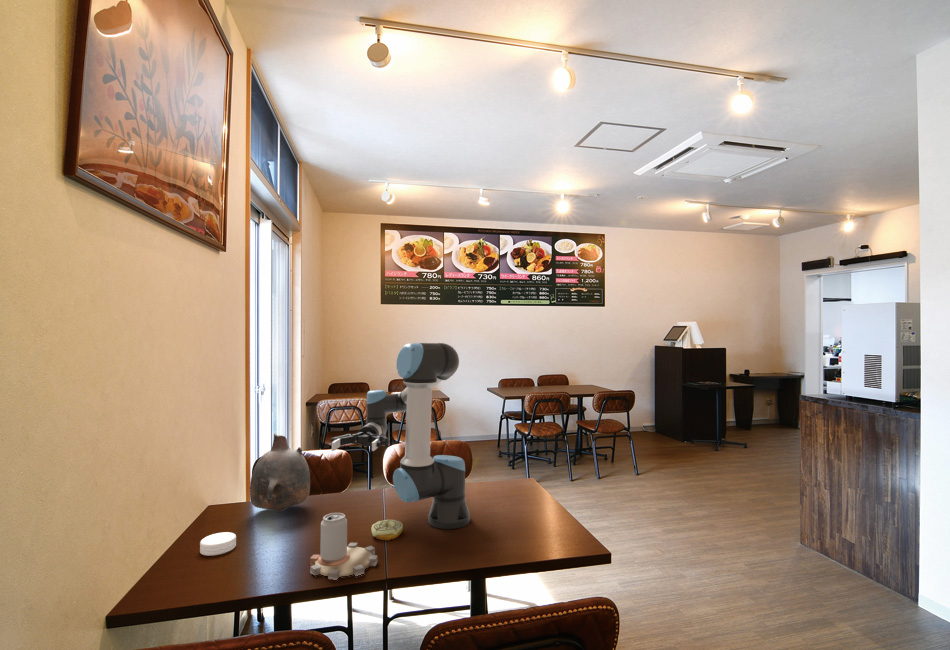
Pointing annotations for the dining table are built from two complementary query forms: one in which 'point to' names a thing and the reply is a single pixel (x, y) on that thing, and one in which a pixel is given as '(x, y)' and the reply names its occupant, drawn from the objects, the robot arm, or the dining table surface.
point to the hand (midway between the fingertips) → (352, 446)
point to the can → (333, 537)
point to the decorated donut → (387, 529)
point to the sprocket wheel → (345, 562)
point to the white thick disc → (217, 543)
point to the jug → (280, 477)
